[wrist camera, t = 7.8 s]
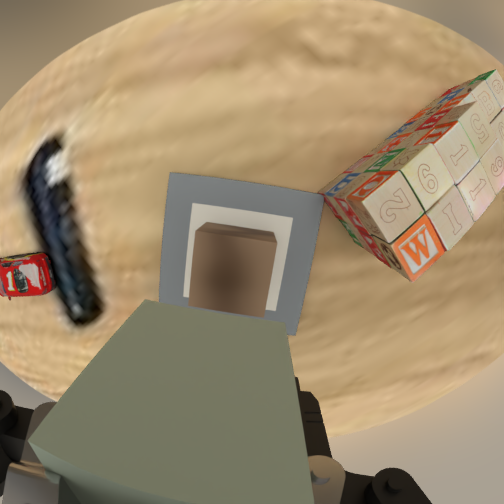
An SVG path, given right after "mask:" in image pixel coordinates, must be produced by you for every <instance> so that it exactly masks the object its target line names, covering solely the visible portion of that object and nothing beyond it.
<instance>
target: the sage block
mask: <svg viewBox="0 0 504 504" xmlns="http://www.w3.org/2000/svg"><path fill="white" fill-rule="evenodd" d="M28 442H29V444H30V445H31V447H32V449H33V450H34V452H35V454H36V455H37V457H38V459H39V460H40V462H41V463H42V465H43V466H44V468H45V469H46V470H49V471H52V472H55V473H57V474H60V475H62V477H63V478H64V480H65V481H66V483H67V484H68V486H69V487H70V489H71V490H72V492H73V493H74V494H75V496H76V497H77V498H78V500H79V501H80V503H81V504H314V497H313V490H312V483H311V476H310V470H309V463H308V456H307V450H306V443H305V437H304V431H303V425H302V418H301V412H300V406H299V400H298V394H297V388H296V382H295V376H294V371H293V365H292V359H291V353H290V348H289V342H288V336H287V331H286V325H285V322H277V321H269V320H262V319H255V318H248V317H241V316H234V315H228V314H222V313H216V312H210V311H204V310H198V309H192V308H187V307H181V306H176V305H171V304H166V303H160V302H155V301H151V300H146V299H145V300H144V301H143V302H142V304H141V305H140V306H139V307H138V308H137V309H136V310H135V311H134V312H133V314H132V315H131V316H130V317H129V318H128V319H127V320H126V321H125V322H124V324H123V325H122V326H121V327H120V328H119V329H118V330H117V332H116V333H115V334H114V335H113V336H112V337H111V338H110V340H109V341H108V342H107V343H106V344H105V345H104V346H103V348H102V349H101V350H100V351H99V352H98V353H97V355H96V356H95V357H94V358H93V359H92V360H91V362H90V363H89V364H88V365H87V366H86V368H85V369H84V370H83V371H82V372H81V374H80V375H79V376H78V377H77V378H76V380H75V381H74V382H73V383H72V384H71V386H70V387H69V388H68V389H67V391H66V392H65V393H64V394H63V396H62V397H61V398H60V399H59V401H58V402H57V403H56V404H55V406H54V407H53V408H52V409H51V411H50V412H49V413H48V414H47V416H46V417H45V418H44V420H43V421H42V422H41V424H40V425H39V426H38V427H37V429H36V430H35V431H34V433H33V434H32V435H31V437H30V438H29V439H28Z"/></svg>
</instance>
